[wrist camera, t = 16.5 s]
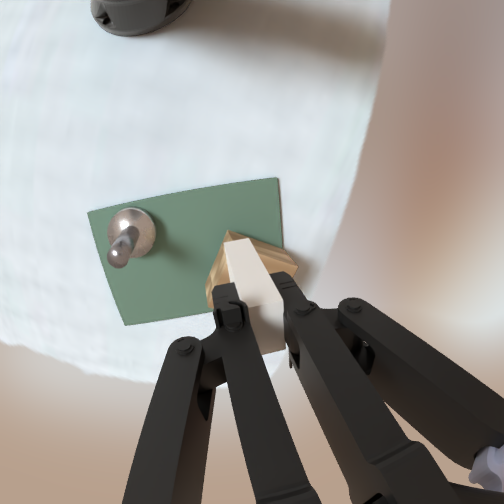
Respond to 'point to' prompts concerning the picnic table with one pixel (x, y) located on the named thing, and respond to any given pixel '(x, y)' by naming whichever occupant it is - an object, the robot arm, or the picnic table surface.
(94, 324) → the picnic table surface
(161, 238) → the mat
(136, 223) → the stand
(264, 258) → the square wooden frame
